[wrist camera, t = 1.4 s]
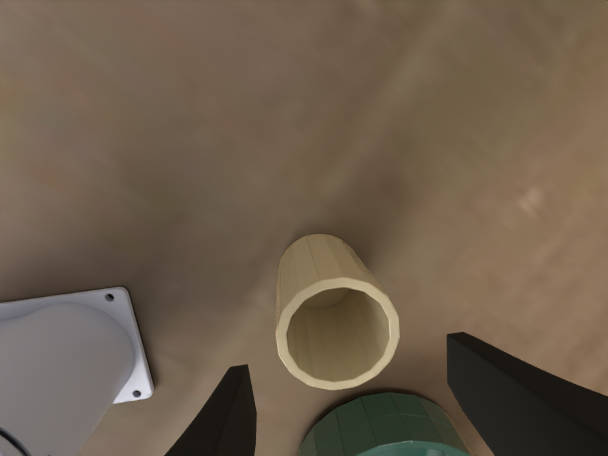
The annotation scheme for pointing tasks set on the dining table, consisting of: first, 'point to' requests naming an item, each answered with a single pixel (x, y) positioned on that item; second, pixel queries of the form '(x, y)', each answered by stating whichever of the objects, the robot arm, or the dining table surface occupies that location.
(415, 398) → the bowl
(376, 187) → the dining table surface
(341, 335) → the cup
